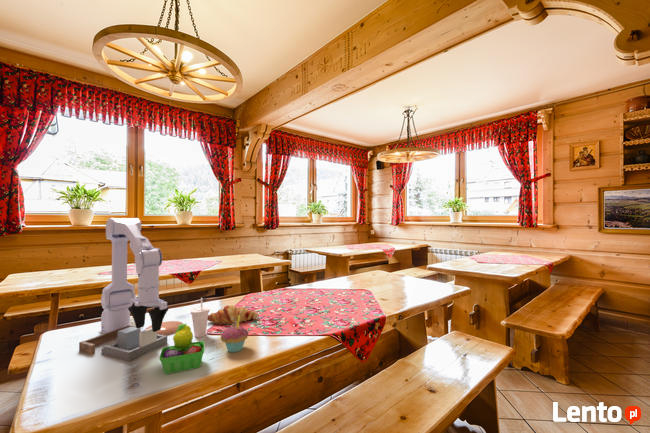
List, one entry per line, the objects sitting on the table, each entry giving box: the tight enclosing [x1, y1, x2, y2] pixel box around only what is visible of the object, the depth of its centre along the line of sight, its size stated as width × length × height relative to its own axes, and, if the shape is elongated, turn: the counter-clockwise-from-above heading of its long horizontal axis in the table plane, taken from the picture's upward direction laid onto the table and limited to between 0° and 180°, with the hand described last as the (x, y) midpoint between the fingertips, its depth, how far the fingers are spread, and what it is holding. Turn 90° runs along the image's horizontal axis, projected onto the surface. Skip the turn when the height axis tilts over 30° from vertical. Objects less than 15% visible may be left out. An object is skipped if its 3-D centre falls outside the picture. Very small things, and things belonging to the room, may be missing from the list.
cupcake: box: [220, 314, 249, 353], centre depth 93 cm, size 9×8×12 cm
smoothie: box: [190, 297, 210, 338], centre depth 103 cm, size 6×6×14 cm
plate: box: [144, 320, 184, 336], centre depth 109 cm, size 13×13×1 cm
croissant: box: [207, 304, 259, 325], centre depth 119 cm, size 21×10×8 cm, turn 104°
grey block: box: [117, 326, 141, 351], centre depth 94 cm, size 4×4×6 cm
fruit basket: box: [158, 323, 205, 375], centre depth 82 cm, size 11×9×11 cm
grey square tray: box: [101, 328, 168, 362], centre depth 93 cm, size 13×13×7 cm
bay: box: [78, 325, 135, 355], centre depth 97 cm, size 6×16×3 cm, turn 158°
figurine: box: [230, 318, 238, 327], centre depth 105 cm, size 5×4×6 cm
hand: (148, 328), depth 91 cm, fingers open, 7 cm apart
